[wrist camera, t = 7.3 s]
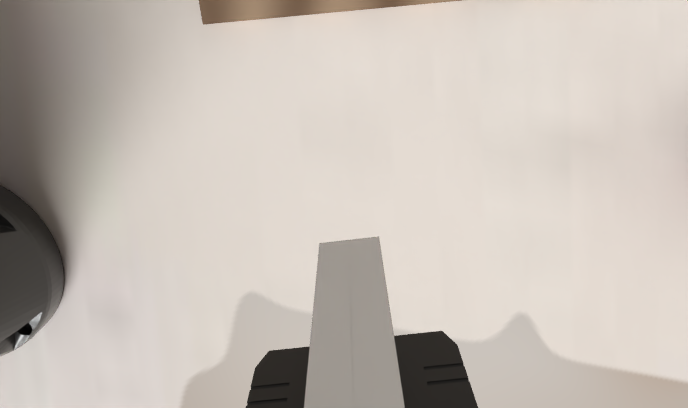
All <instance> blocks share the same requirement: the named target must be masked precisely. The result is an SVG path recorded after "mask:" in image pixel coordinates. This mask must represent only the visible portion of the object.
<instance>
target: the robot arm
mask: <svg viewBox="0 0 688 408" xmlns="http://www.w3.org/2000/svg"><path fill="white" fill-rule="evenodd" d="M63 286H64V272H63V265H62V260H61V256H60V253H59V250H58V248H57V245H56V243H55V241H54V239H53V237H52V235H51V233H50V232H49V230H48V228H47V227H46V225H45V224H44V223H43V221H42V220H41V219H40V218H39V216H38V215H37V214H36V213H35V212H34V211H33V210H32V209H31V208H30V207H29V206H28V205H27V204H26V203H25V202H24V201H22V200H21V199H20V198H19V197H17V196H16V195H15V194H13V193H12V192H10V191H9V190H7V189H5V188H4V187H2V186H0V356H2V355H5V354H7V353H9V352H11V351H13V350H15V349H17V348H19V347H20V346H22V345H23V344H25V343H26V342H27V341H29V340H30V339H31V338H32V337H33V336H34V335H35V334H36V333H37V332H38V331H39V330H40V329H41V328H42V327H43V326H44V325H45V324H46V323H47V322H48V321H49V320H50V319H51V317H52V316H53V314H54V313H55V311H56V309H57V307H58V305H59V303H60V300H61V297H62V293H63ZM247 403H248V405H247V406H246V408H478V406H477V403H476V400H475V397H474V394H473V391H472V388H471V385H470V382H469V381H468V376H467V373H466V370H465V367H464V366H463V361H462V358H461V355H460V352H459V349H458V346H457V344H456V343H455V342H453V341H452V340H451V339H450V338H449V337H448V336H447V335H446V334H445V333H444V332H443V331H437V332H427V333H418V334H408V335H399V336H394V333H393V327H392V320H391V313H390V307H389V300H388V294H387V287H386V280H385V274H384V267H383V261H382V254H381V247H380V241H379V237H372V238H363V239H354V240H345V241H336V242H327V243H319V254H318V264H317V275H316V286H315V296H314V307H313V317H312V328H311V339H310V347H302V348H293V349H284V350H273V351H269V352H268V353H267V354H266V355H265V357H264V358H263V359H262V360H261V361H260V363H259V364H258V365H257V366H256V368H255V371H254V376H253V380H252V384H251V390H250V392H249V397H248V401H247Z"/></svg>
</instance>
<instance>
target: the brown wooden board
mask: <svg viewBox="0 0 688 408" xmlns="http://www.w3.org/2000/svg"><path fill="white" fill-rule="evenodd" d="M449 1H460V0H199V4H200V10H201V16H202V22H203V24H213V23H223V22H234V21H245V20H256V19H266V18H277V17H288V16H299V15H309V14H320V13H331V12H342V11H353V10H363V9H374V8H385V7H396V6H406V5H417V4H428V3H439V2H449Z"/></svg>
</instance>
